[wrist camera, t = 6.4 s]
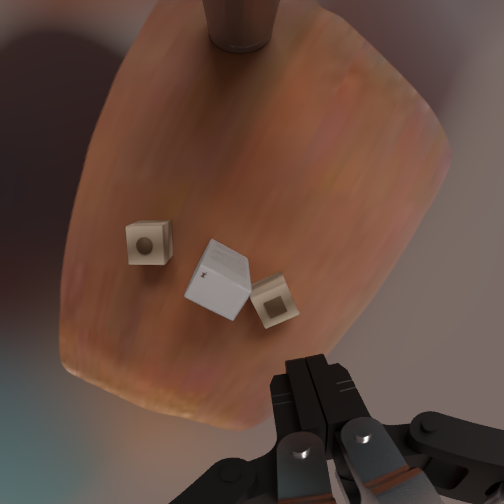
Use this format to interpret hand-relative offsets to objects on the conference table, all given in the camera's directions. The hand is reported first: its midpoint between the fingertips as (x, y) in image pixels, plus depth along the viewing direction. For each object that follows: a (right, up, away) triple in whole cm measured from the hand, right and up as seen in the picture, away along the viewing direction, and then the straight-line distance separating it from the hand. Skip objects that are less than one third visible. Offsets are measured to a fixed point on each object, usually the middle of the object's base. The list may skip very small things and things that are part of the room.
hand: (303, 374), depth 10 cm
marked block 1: (-16, +7, +28) cm, 33 cm away
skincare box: (-6, +4, +30) cm, 30 cm away
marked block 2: (+1, -1, +31) cm, 31 cm away
